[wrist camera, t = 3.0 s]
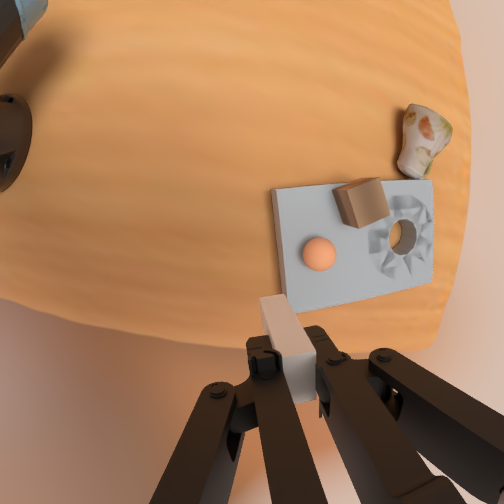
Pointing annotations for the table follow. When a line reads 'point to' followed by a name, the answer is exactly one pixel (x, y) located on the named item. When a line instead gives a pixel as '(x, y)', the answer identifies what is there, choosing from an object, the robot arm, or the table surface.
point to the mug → (422, 140)
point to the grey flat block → (353, 244)
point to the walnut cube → (361, 202)
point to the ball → (319, 254)
